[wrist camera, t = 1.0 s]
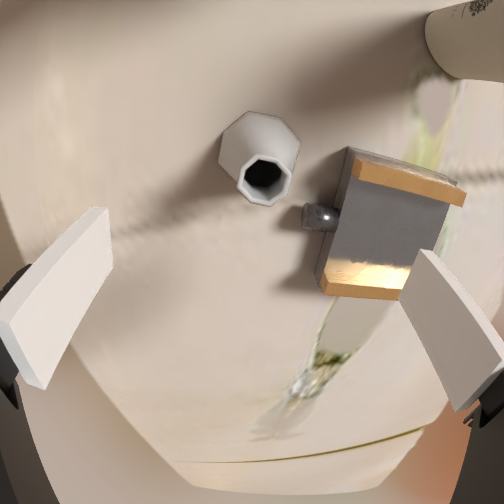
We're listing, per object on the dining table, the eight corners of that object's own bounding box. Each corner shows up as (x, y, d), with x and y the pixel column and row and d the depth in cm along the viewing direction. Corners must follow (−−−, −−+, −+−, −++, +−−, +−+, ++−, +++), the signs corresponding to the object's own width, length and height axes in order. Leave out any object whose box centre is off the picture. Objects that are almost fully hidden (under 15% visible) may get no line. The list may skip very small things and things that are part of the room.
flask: (313, 139, 25) (347, 163, 17) (271, 202, 28) (282, 255, 20) (244, 97, 23) (241, 96, 15) (204, 165, 26) (181, 202, 18)
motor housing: (317, 139, 25) (329, 148, 21) (444, 174, 26) (468, 188, 23) (287, 270, 32) (292, 296, 28) (404, 282, 33) (419, 305, 29)
